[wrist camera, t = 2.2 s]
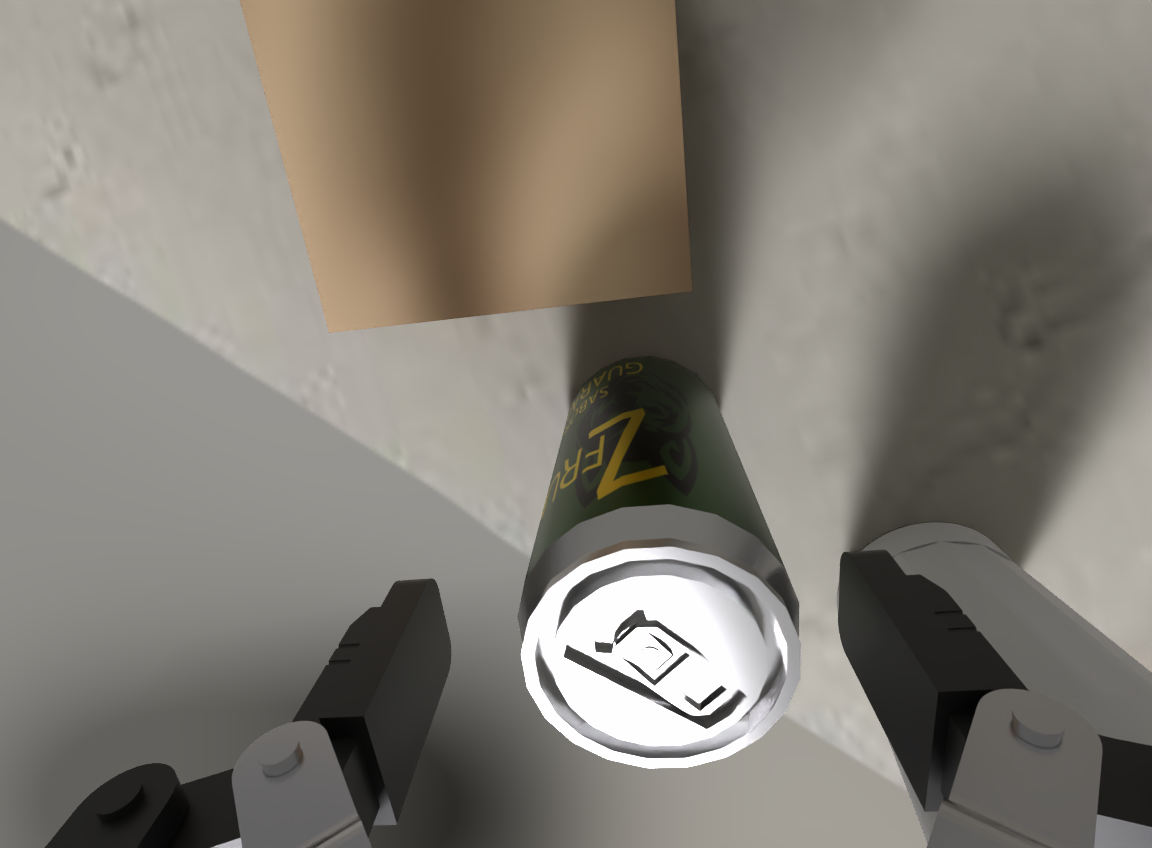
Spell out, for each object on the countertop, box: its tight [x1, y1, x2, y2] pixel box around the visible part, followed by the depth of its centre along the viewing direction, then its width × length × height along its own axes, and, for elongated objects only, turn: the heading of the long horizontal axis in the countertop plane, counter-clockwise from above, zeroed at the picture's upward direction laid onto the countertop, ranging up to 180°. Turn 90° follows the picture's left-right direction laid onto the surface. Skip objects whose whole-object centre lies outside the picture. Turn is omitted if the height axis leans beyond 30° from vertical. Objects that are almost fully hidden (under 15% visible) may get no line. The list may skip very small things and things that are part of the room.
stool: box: [240, 0, 693, 333], centre depth 16 cm, size 9×9×6 cm
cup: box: [837, 522, 1152, 844], centre depth 18 cm, size 8×8×12 cm
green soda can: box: [518, 357, 801, 768], centre depth 17 cm, size 5×5×12 cm
